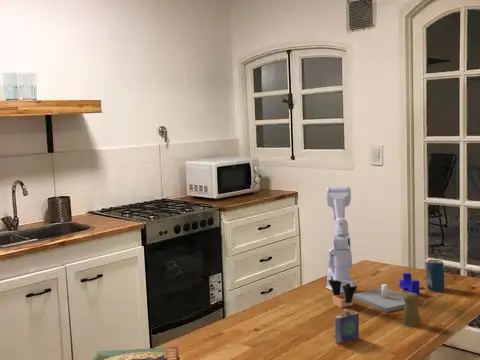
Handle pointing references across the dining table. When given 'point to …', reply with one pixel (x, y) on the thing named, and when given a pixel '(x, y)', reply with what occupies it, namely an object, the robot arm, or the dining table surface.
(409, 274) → the cable clip
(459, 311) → the dining table surface
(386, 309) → the post board
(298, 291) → the dining table surface
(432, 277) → the soda can
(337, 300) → the collar
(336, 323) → the flask
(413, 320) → the cork
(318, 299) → the dining table surface
